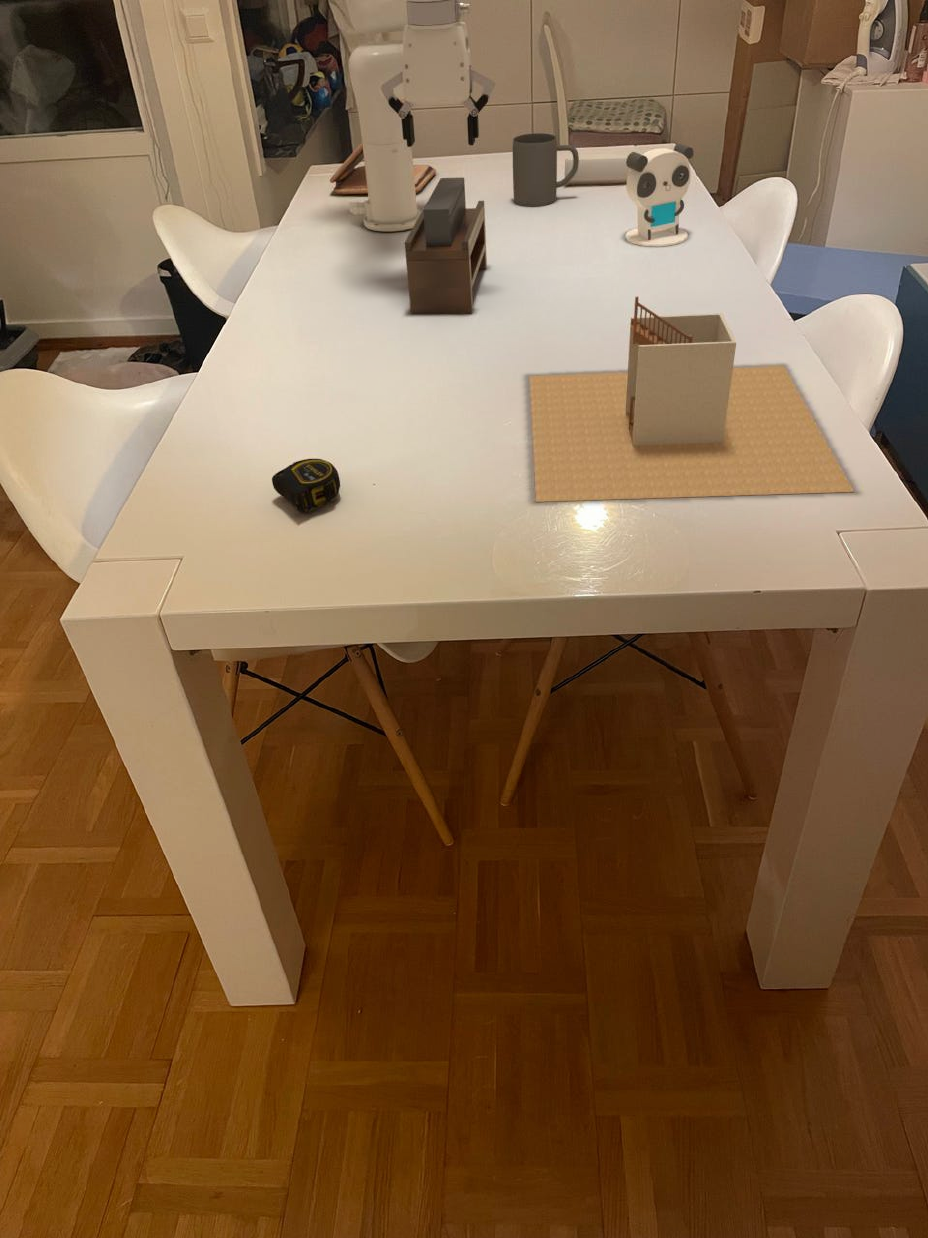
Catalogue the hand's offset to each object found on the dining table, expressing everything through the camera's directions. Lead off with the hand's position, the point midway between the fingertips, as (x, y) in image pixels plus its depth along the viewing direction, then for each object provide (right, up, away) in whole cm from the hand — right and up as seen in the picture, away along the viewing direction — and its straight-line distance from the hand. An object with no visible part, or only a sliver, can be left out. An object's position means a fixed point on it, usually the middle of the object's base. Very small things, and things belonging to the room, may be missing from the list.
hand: (441, 143), depth 144 cm
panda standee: (+39, -3, +29) cm, 49 cm away
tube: (+38, +21, +59) cm, 73 cm away
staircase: (+30, -50, -28) cm, 65 cm away
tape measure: (-14, -61, -37) cm, 73 cm away
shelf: (+1, -18, +14) cm, 22 cm away
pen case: (+1, -10, +7) cm, 12 cm away
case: (-15, +26, +69) cm, 75 cm away
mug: (+21, +14, +52) cm, 57 cm away
